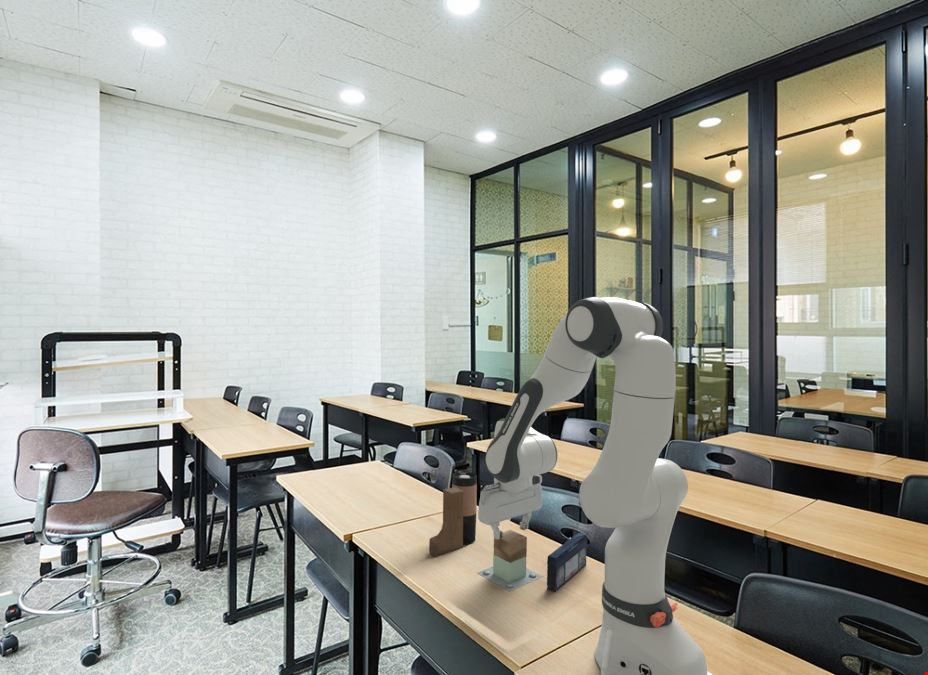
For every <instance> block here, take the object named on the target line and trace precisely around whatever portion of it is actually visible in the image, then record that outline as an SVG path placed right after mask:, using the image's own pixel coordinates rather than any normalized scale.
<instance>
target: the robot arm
mask: <svg viewBox="0 0 928 675" xmlns="http://www.w3.org/2000/svg"><path fill="white" fill-rule="evenodd" d="M663 330H664V322H663V319H662V316H661V314H660V312H659V311H658V309H656V308H655V307H654V306H652V305H650V304H649V303H646V302H643V301H638V300H634V301H633V300H628V299H624V298H621V297H597V296H591V297H586V298H583V299H580V300H577V301H576V302H574V303H573V304H571V306H570V307H569V309H568V311H567V312H566V315H564V316H563V317H562V318H560V321H559V322H558V323H557V326H556V327H555V329H554V331H553V333H552V334H551V337H550V340H549V342H548V343H547V347H546V349H545V352H544V354H543V357H542V359H541V360H540V363H539V365H538V366H537V368H536V370H535V371H534V372H533V374H532V375H531V376H530V378H528V379H527V381H525V382H524V384H522V386H521V387H520V389H519V391H518V392H517V395H516V397H515V398H514V401H513V402H512V404H511V406H510V409H509V411H508V412H507V415H506V416H505V418H500V419H499V420H497V421H496V424H495V427H494V434H493V439H492V440H491V441H490V442H489V444H488V446H487V448H486V452H485V456H484V460H485V461H484V462H485V466H486V467H485V468H486V469H487V471H488V472H489V473H490V475H491V476H492V477H493V484H488V485H485V486H484V488H483V489H482V490H481V491H480V498H479V503H478V510H477V512H478V513H477V514H478V515H477V518H478V521H479V522H480V523H482V524H484V525H486V526H490V527H491V530H492V531H493V539H494V538H495V539H500V538H502V537H503V536H502V534H503V532H504V531H502V530H500V528H499V527H500V523H501V522H504V521H507V520H510V519H514V518H516V517H520V516H523V517H522V519H521V521H520V522H519V530H522V531H526V530H528V529H529V522H530V520H531V518H532V515H533V514H532V513H533V512H535V511H539V510H541V508H542V506H543V487H542V485H541V484H542V483H543V477H542V474H545V473H548V472H550V471H553V469H554V468H555V467H556V465H557V462H558V449H557V446H556V443H555V442H554V441H553V439H552V438H551V437H550V436H548V435H546V434H543V433H541V432H539V431H537V430H535V429H534V428H533V427H532V425H533V424H534V422H535V421H536V419H538V417H539V415H541V414H542V413H544V412H545V411H547V410H548V409H550V408H552V407H555V406H556V405H558V404H561V403H563V402H566V401H569V400H571V399H573V398H574V397H576V396H577V395H579V394H580V393H581V392H582V390H583V389H584V388H585V386H586V385H587V382H588V381H589V379H590V377H591V376H590V375H591V374H592V371H593V369H594V366H595V362H596V360H597V358H600V359H605V358H607V357H610V359H612V360H611V361H613V364H614V367H615V378H614V386H613V395H612V396H613V398H612V407H611V417H610V425H609V429H608V433H607V436H606V440H605V442H604V445H603V448H602V450H601V453H600V454H599V457H598V459H597V461H596V463H595V466H593V469H592V470H591V471H590V472H589V473H588V475H587V476H586V477H585V478H584V479H583V481H582V482H581V484H580V488H579V502H580V507H581V509H582V511H583V513H584V515H585V516H586V517H587V519H588V520H589V521H590V522H592V524H594V525H596V526H598V527H601V528H609V529H610V528H614V530H613V532H612V534H611V535H610V536H609V538H608V540H607V542H606V544H605V548H604V581H603V583H602V585H601V586H602V587H601V589H602V590H601V604H602V608H603V612H602V620H601V621H602V622H601V627H600V634H599V638H598V642H597V645H596V647H595V651H594V658H595V662H596V663H597V665H598V667H599V669H600V675H713V673H711V672H709V671H708V666H707V661H706V656H705V653H704V651H703V649H702V648H701V646H700V645H699V644H698V643H697V642H696V641H695V640H694V638H692V637H691V636H690V634H688V632H687V631H686V630H685V629H684V627H683V626H682V625H681V624H680V623H679V622H678V621H677V620H676V619H675V617H674V614H673V613H674V612H675V611H677V609H678V607H677V606H678V602H675V603H673V604H672V605H670V602H669V600H668V597H667V594H666V591H665V574H666V573H665V572H666V570H665V569H666V558H667V557H666V556H667V555H666V554H667V551H668V550H667V549H668V545H669V541H670V536H671V533H672V529H673V526H674V523H675V519H676V516H677V513H678V511H679V508H680V507H681V505H682V503H683V502H684V501H685V499H686V498H687V494H688V492H689V482H688V478H687V477H686V474H685V472H684V471H683V469H682V468H681V467H680V466H679V465H678V464H677V463H675V462H674V461H672V460H670V459H667V458H666V459H665V458H659V456H660V455H661V453H662V450H663V449H664V448H665V446H666V445H667V444H668V442H669V441H670V440H671V436H672V431H673V422H674V421H673V418H674V410H675V408H674V407H675V399H676V380H677V379H676V378H677V376H676V360H675V353H674V348H673V346H672V345H671V343H670V342H668V341H667V340H666V339H664V338H662V334H663Z"/></svg>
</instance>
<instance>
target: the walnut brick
mask: <svg viewBox="0 0 928 675" xmlns="http://www.w3.org/2000/svg"><path fill="white" fill-rule="evenodd" d="M502 536H503V537H502V538H500V539H495V538H494V537H493V555H495V556H497V557H499V558H501V559H503V560H505V561H507V562H509V563H511V562H514V561H516V560H519V559H521V558H524V557H526V558H527V557H528V556H527V553H528V552H527V551H528V549H527V547H528V542H527V541H528V537H527V536H525V535H524V534H521V533H518V532H517V531H514V530H512V529H509V530H506V531H503V534H502Z"/></svg>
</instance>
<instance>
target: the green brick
mask: <svg viewBox="0 0 928 675" xmlns="http://www.w3.org/2000/svg"><path fill="white" fill-rule="evenodd" d="M492 559H493V560H492V562H493V564H492V565H493V566H492V567H493V574H494V575H496V576H498V577H500V578H502V579H504V580H505V581H507V582H509V583H510V582H513V581H515V580H517V579H519V578H522V577H524V576H526V568H527V556H526V557H524V558H521V559H519V560H516V561H514V562H511V563H509V562H507V561H505V560H503V559H501V558H499V557H497V556H495V555H494V554H493V557H492Z"/></svg>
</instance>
